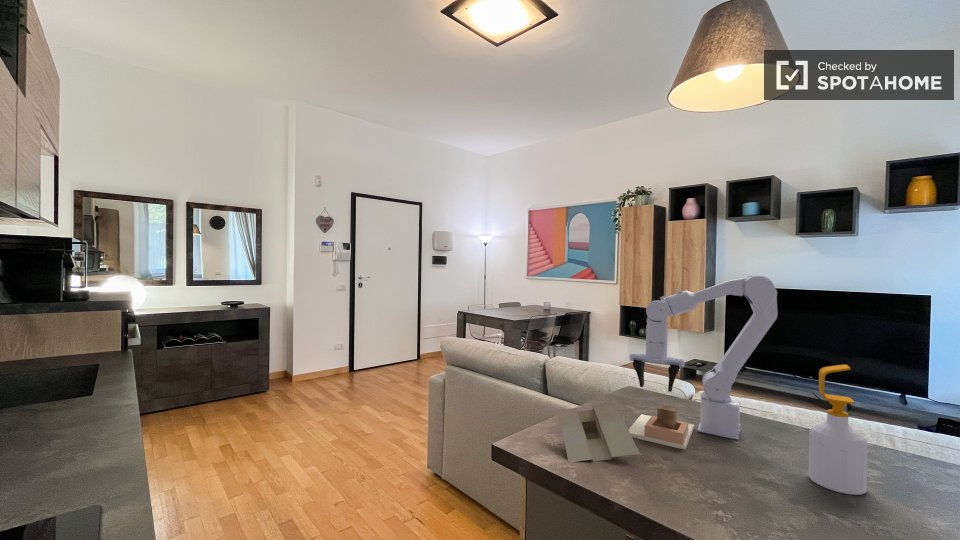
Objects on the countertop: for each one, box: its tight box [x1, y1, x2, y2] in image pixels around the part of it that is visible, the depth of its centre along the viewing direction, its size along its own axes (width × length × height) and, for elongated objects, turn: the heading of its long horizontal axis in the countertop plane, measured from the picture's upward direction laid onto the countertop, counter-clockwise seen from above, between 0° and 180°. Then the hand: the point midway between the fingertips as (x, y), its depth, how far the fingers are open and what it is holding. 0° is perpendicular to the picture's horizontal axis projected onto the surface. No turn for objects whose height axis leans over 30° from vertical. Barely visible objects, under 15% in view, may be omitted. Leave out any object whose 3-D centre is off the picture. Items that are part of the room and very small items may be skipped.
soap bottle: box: [808, 364, 868, 496], centre depth 84 cm, size 9×9×25 cm
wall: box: [556, 403, 640, 463], centre depth 100 cm, size 16×9×15 cm
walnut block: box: [656, 404, 678, 430], centre depth 106 cm, size 4×4×7 cm
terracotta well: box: [645, 415, 689, 445], centre depth 106 cm, size 9×9×3 cm
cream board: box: [628, 414, 695, 451], centre depth 110 cm, size 14×17×1 cm
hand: (655, 388), depth 119 cm, fingers open, 7 cm apart
